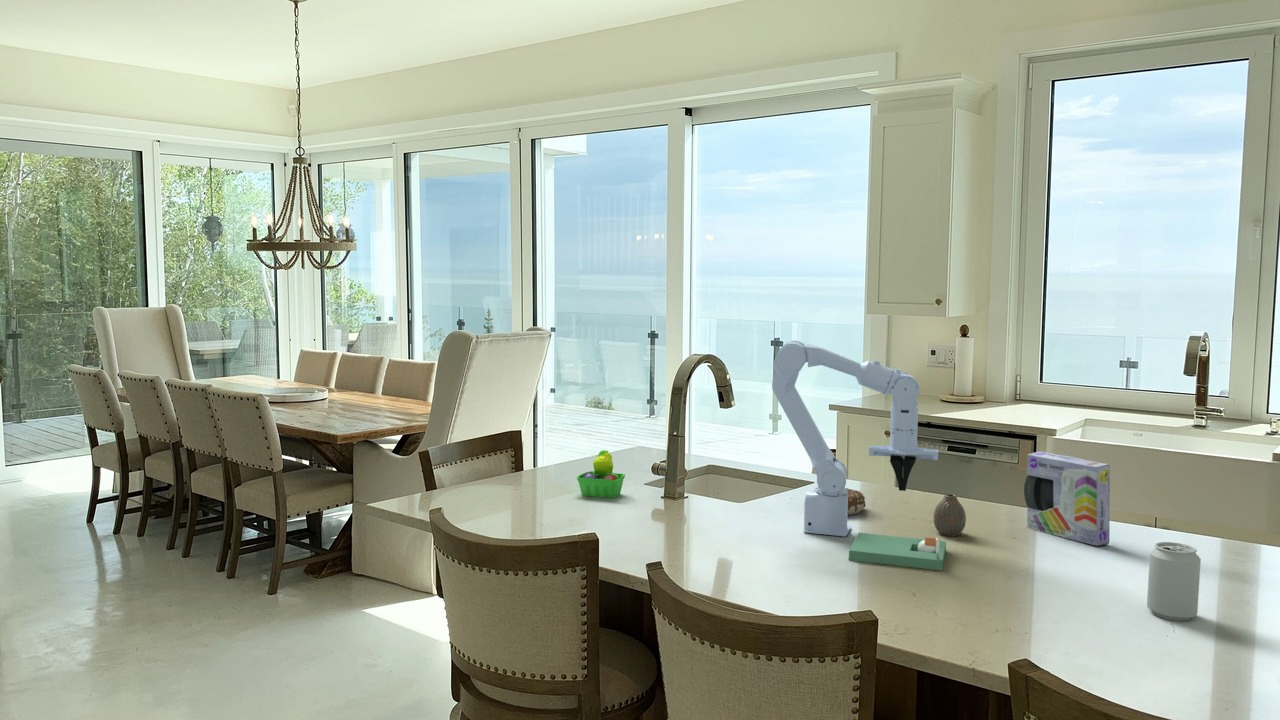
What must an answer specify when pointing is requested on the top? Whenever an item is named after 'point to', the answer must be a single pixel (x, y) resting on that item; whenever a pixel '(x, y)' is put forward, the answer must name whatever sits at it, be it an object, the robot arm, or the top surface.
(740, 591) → the top surface
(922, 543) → the ball
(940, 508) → the vase
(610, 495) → the fruit basket
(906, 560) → the board
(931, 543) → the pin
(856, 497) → the donut
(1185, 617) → the can
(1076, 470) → the cake pan box
